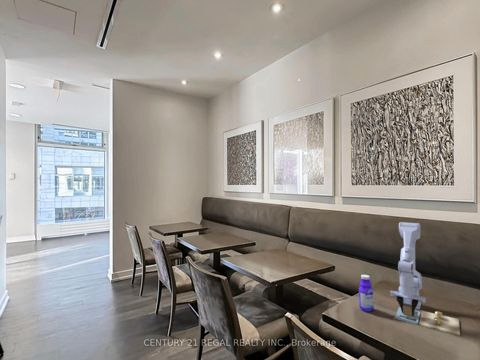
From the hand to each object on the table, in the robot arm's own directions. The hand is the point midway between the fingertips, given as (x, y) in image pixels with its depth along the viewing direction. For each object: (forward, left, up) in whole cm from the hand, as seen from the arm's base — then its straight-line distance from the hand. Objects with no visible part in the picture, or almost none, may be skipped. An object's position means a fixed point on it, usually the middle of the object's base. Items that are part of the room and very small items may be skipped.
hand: (407, 313), depth 130 cm
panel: (0, 0, -1) cm, 1 cm away
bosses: (+12, +1, -1) cm, 12 cm away
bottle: (-18, -4, -2) cm, 19 cm away
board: (+12, +1, -1) cm, 12 cm away
